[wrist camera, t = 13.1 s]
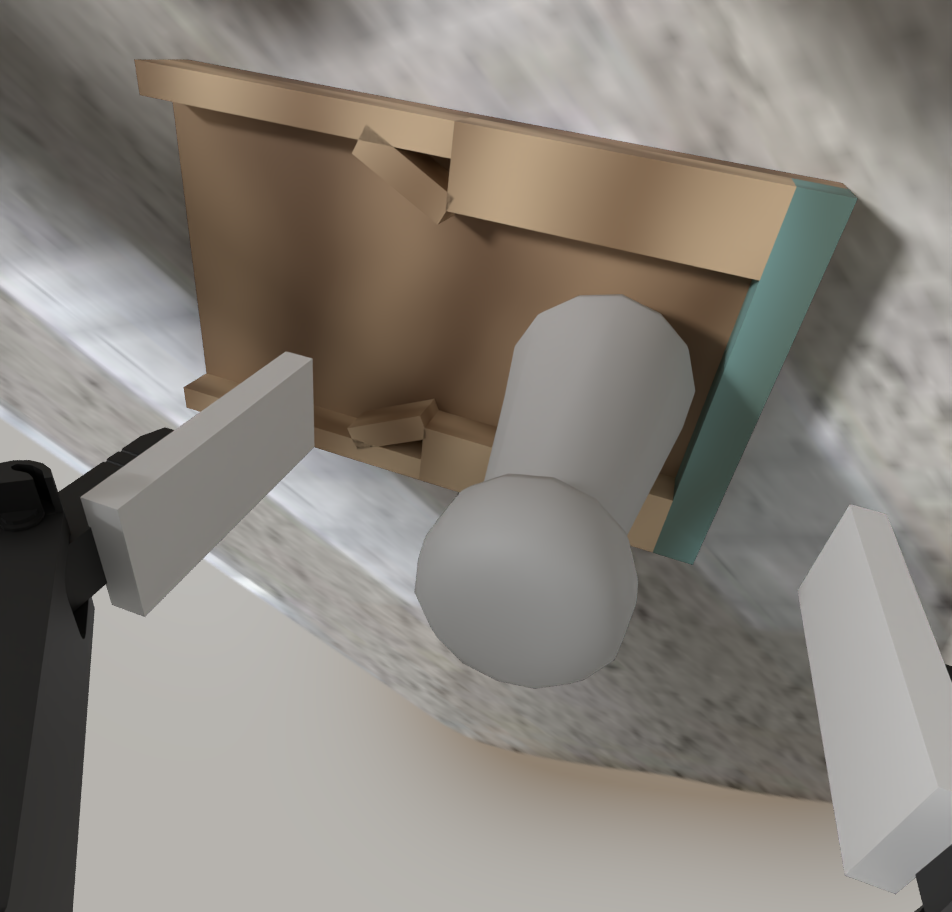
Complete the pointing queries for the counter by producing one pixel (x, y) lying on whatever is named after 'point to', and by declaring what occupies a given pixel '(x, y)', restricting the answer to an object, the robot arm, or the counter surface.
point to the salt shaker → (559, 496)
